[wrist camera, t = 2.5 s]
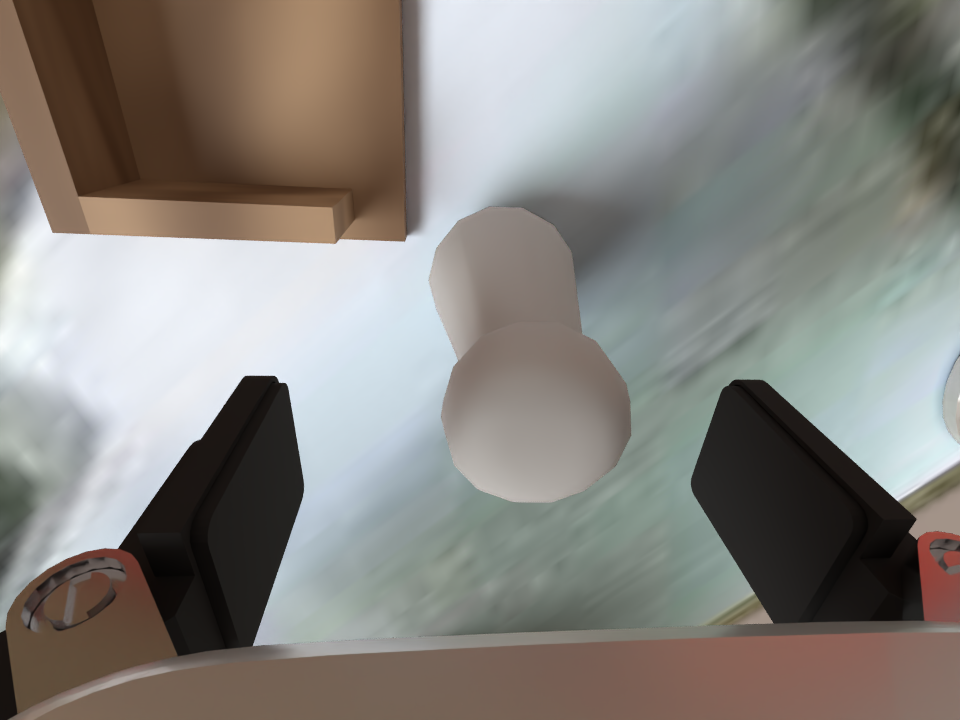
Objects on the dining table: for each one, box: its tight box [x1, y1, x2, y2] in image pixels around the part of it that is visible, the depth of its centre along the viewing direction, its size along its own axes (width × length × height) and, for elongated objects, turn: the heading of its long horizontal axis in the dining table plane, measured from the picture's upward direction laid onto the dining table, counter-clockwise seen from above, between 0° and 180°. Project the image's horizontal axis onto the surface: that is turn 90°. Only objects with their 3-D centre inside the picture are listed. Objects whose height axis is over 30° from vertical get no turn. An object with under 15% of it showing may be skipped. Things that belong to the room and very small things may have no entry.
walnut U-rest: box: [0, 0, 407, 244], centre depth 16 cm, size 12×12×4 cm
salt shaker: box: [429, 207, 631, 502], centre depth 16 cm, size 6×6×13 cm
